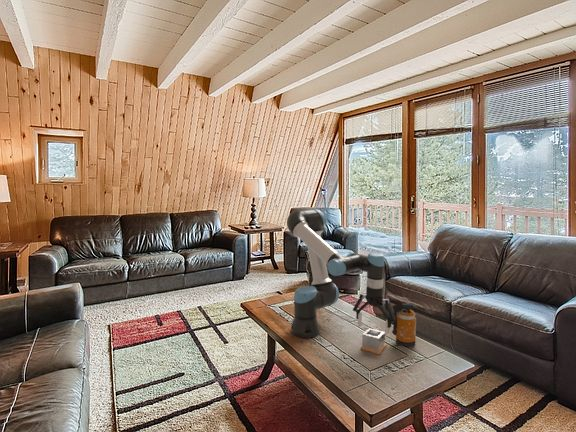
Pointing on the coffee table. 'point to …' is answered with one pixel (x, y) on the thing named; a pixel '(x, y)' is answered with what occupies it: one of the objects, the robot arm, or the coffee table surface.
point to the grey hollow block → (373, 339)
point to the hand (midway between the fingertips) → (372, 329)
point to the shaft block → (372, 349)
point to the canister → (404, 324)
